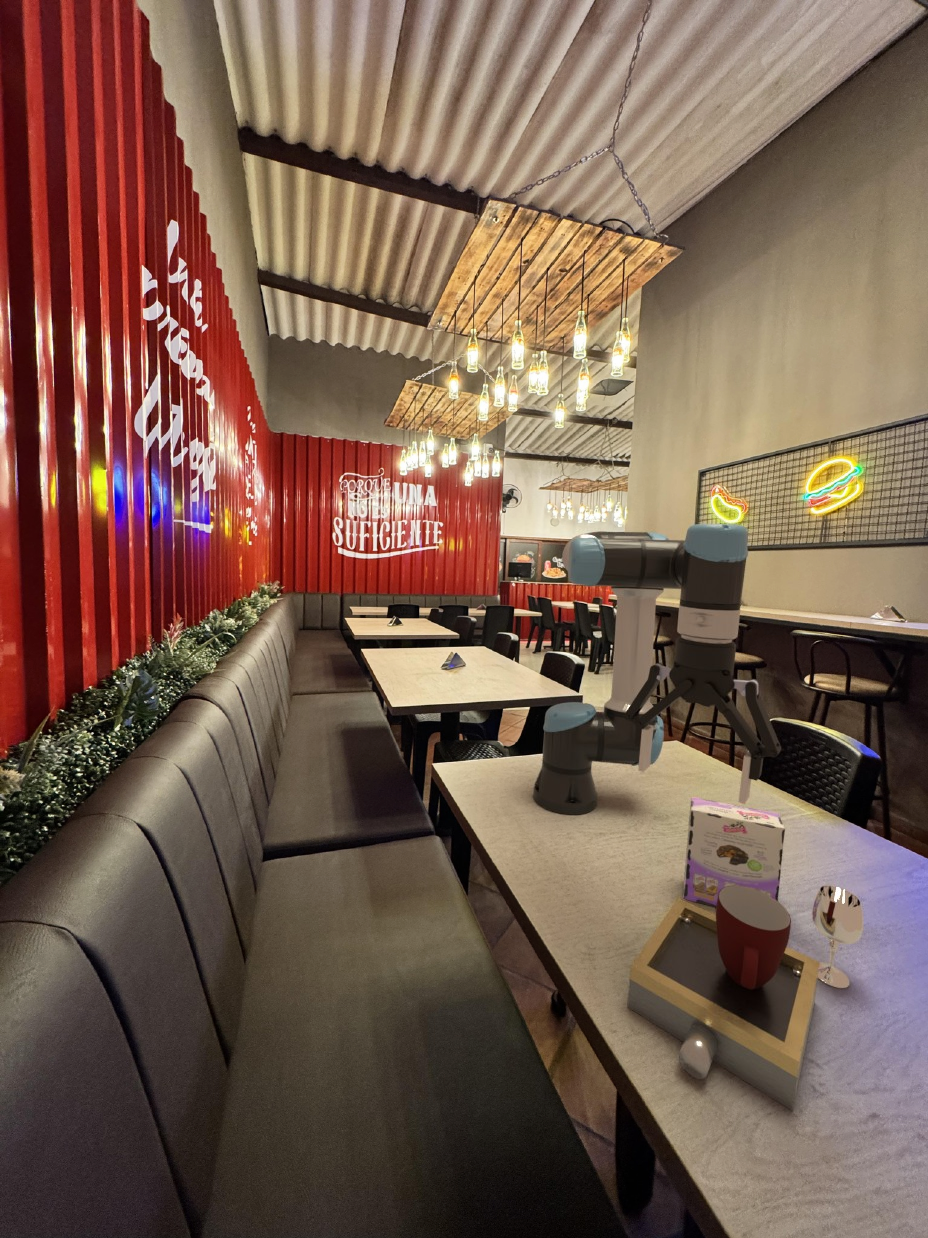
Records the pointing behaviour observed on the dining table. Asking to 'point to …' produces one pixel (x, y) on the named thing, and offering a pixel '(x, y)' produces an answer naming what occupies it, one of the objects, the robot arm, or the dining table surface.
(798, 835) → the dining table surface
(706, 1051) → the shallow drawer tray
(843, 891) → the wineglass
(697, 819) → the candy box
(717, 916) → the mug
